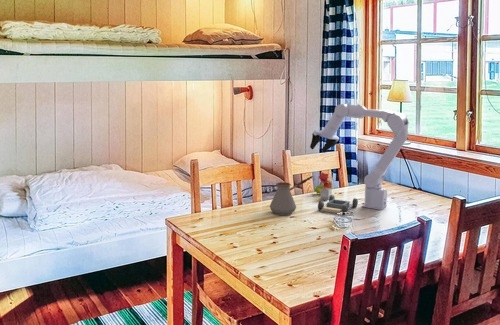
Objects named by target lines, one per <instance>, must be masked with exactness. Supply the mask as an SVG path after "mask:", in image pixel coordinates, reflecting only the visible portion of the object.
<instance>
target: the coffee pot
mask: <svg viewBox="0 0 500 325" xmlns="http://www.w3.org/2000/svg"><path fill="white" fill-rule="evenodd" d="M310 179H312V181H315V180H316V179H315V177H314V175H311V176H309V177H307V178H306V179H303V180H301V181H300V182H298V183H297V184H296V185H294V186H291V185H292V184H291V183H290V182H284V181H283V182H277V183H275V185H276V191H275V192H274V195H273V198H272V200H271V202H270V205H269V208H270V210H271V211H272V213H273V214H275V215H277V216H288V215H289V216H290V215H292V213H293V212H295V211H296V209H297V205H296V203H295V200H294V198H293V195H292V192H291V191H292V190H294V189H296V188H297V187H299V186H301V185H303V184H305V183H306V182H307V181H310Z"/></svg>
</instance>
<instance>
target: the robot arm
mask: <svg viewBox="0 0 500 325" xmlns="http://www.w3.org/2000/svg"><path fill="white" fill-rule="evenodd" d="M346 117H348V118H352V119H360V120H362V119H364V118H365V117H370V118H377V119H381V120H382V121H383V122H384V123H387V126H388V128H389V129H390V131H392V135H393V139H392V141H391V142H390V144H388V147H387V148H386V149H385V151H384V152H383V154H382V156H381V157H380V159H379V160H378V161H377V163H376V165H375V167H374V168H373V169H372V170H371V171H370V172H369V174H367V175H365V177H364V178H363V183H364V185H365V186H364V189H365V190H364V203H363V204H362V205H361V208H369V209H376V210H384V209H385V208H386V207H387V199H388V198H387V197H388V191H387V189H386V188H383V187H382V183H383V182H384V179H385V175H386V174H387V173H386V172H387V170H388V169H389V168H390V165H391V164H392V163H393V161H394V159H395V158H396V156H397V155H398V153H399V152H400V150H401V148H402V147H403V146H404V144H405V143H406V141H407V139H408V138H409V136H408V135H409V134H408V133H409V130H408V128H409V120H408V118H407V116H406V114H405V113H403V112H397V111H393V110H386V109H385V110H384V109H373V108H366V107H365V105H362V104H360V103H358V104H351V103H340V104H337V105H336V106H335V107H334V112H333V114H332V115H331V116H330V119H328V121H327V123H326V125H325V126H324V127H323V129H320V130H319V129H314V131H313V132H312V135H311V136H312V137H311V142H310V145H309V148H310V149H311V150H314V149H315V148H316V146H317V145H318V144H319V142H321V141H322V139H321V138H326V142H325V143H324V145H323V147H322V149H321V150H322V152H323V153H324V154H325V153H326V152H327V151H329V150H330V149H331V148H332V147H334V146H336V145H337V142H338V141H339V140H340V137H339V136H338V135H336V133H337V132H338V131H339V130H338V129H339V128H340V127H341V125H342V124H343V122H344V121H345V119H346Z"/></svg>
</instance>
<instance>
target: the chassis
mask: <svg viewBox="0 0 500 325" xmlns="http://www.w3.org/2000/svg"><path fill="white" fill-rule="evenodd" d="M358 203H359V200H358V198H355V197H354V198H352V202H351V203H350V201H349V200H348V201H347V200H342V199H336V198H335V195H333V194H332V195H330V197H329V201H327V202H326V206H325V203H324V201H323V200H322V201H321V200H319V201H318V203H317V210H318V211H319V212H320V213H326V214H331V215H337V213H340V212H347V213H348V212H349V211H350V210H352V209H353V208H357V207H358Z"/></svg>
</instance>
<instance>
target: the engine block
mask: <svg viewBox="0 0 500 325" xmlns="http://www.w3.org/2000/svg"><path fill="white" fill-rule="evenodd" d="M332 190H333V188H332V189H329V188H323V189H321V194H320V199H323V200H322V201H327V200H329V197H330V195H333V194H332V193H333V191H332Z"/></svg>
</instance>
